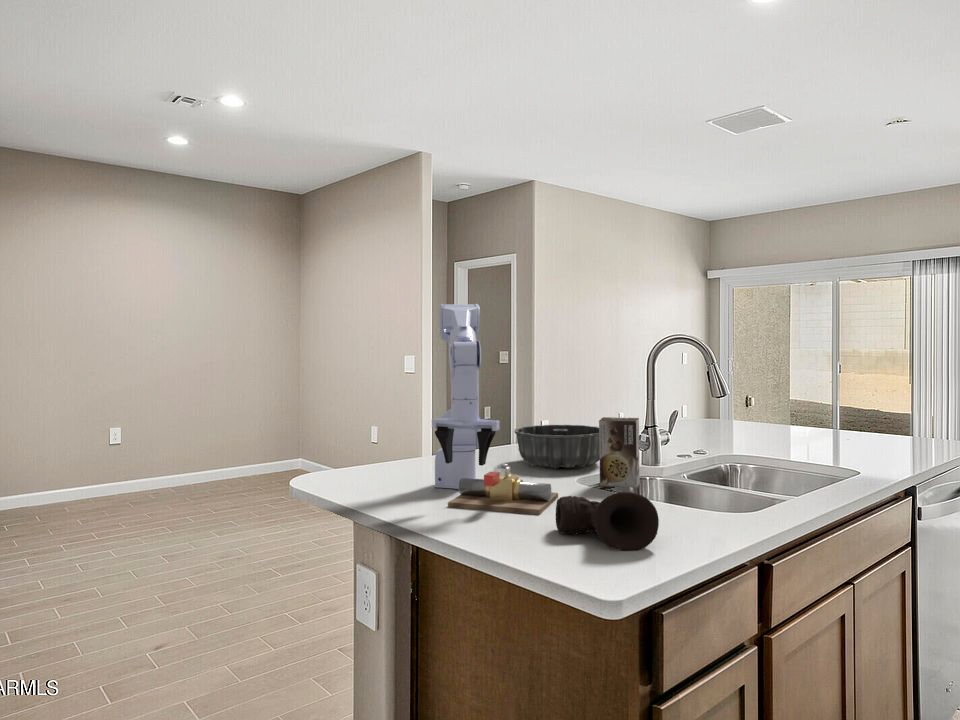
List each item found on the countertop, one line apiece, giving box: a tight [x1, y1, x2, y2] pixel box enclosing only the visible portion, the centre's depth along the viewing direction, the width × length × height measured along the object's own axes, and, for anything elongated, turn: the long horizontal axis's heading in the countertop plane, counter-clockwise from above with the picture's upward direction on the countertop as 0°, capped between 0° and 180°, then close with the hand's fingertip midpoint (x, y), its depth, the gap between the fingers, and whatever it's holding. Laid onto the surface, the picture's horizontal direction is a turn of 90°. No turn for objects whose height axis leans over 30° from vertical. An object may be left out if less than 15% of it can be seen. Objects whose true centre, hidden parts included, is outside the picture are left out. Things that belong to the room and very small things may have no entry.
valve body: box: [458, 474, 552, 501], centre depth 148 cm, size 20×5×5 cm, turn 70°
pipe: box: [555, 491, 660, 552], centre depth 121 cm, size 10×15×15 cm
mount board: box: [447, 491, 559, 516], centre depth 148 cm, size 20×16×1 cm
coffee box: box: [598, 416, 641, 489], centre depth 165 cm, size 9×6×16 cm
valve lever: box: [483, 463, 511, 486], centre depth 143 cm, size 12×3×3 cm, turn 160°
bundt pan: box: [514, 424, 600, 470], centre depth 193 cm, size 26×26×10 cm
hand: (465, 463), depth 142 cm, fingers open, 7 cm apart
